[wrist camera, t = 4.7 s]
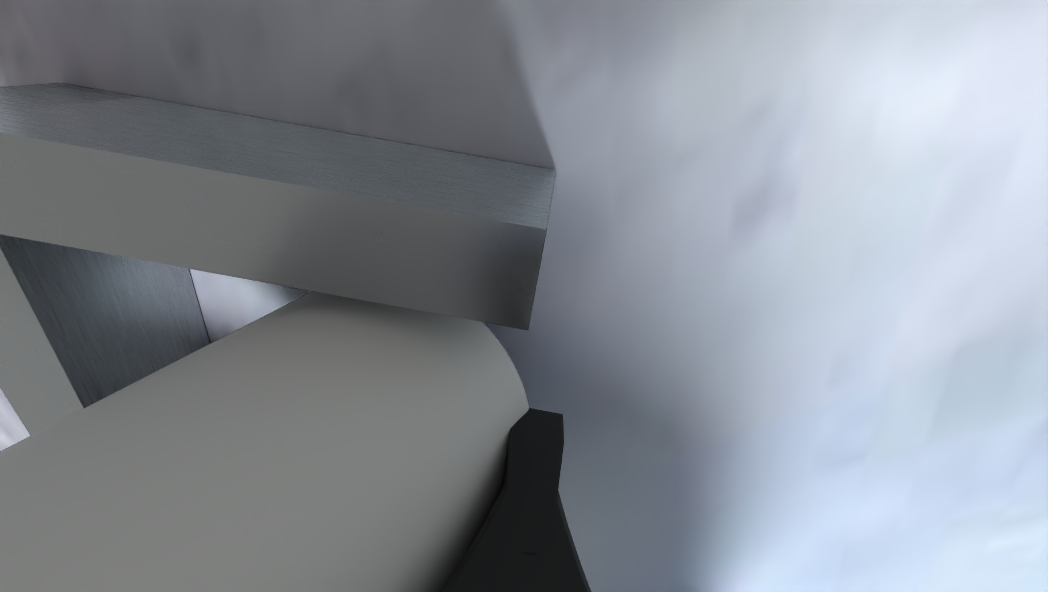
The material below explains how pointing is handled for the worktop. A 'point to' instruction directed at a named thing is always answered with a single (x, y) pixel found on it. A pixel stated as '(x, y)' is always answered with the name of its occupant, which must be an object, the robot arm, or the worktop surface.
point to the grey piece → (227, 232)
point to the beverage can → (273, 462)
